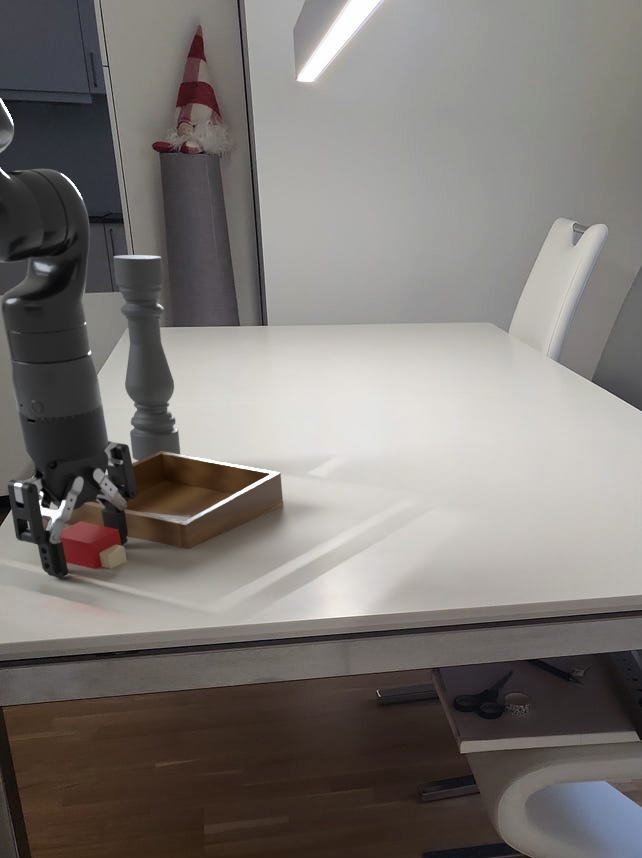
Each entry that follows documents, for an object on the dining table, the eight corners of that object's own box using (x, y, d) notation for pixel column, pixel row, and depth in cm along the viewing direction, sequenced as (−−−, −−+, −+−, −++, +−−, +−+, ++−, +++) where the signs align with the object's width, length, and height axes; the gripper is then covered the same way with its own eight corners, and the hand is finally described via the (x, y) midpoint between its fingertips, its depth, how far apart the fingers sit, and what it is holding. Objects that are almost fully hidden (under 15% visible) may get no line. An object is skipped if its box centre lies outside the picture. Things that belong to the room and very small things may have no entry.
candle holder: (190, 453, 141) (173, 256, 130) (163, 464, 135) (143, 260, 125) (150, 448, 142) (131, 253, 132) (122, 458, 137) (100, 257, 127)
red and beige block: (51, 577, 107) (42, 532, 104) (79, 563, 110) (71, 519, 107) (108, 591, 104) (100, 546, 102) (135, 576, 107) (128, 531, 105)
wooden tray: (62, 533, 116) (55, 497, 114) (165, 483, 131) (160, 450, 128) (190, 562, 110) (185, 525, 108) (283, 506, 124) (280, 472, 122)
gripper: (82, 379, 105) (108, 528, 113) (-31, 417, 94) (6, 579, 102) (142, 388, 102) (163, 540, 110) (32, 428, 91) (65, 594, 99)
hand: (88, 559), depth 106 cm, fingers open, 8 cm apart
